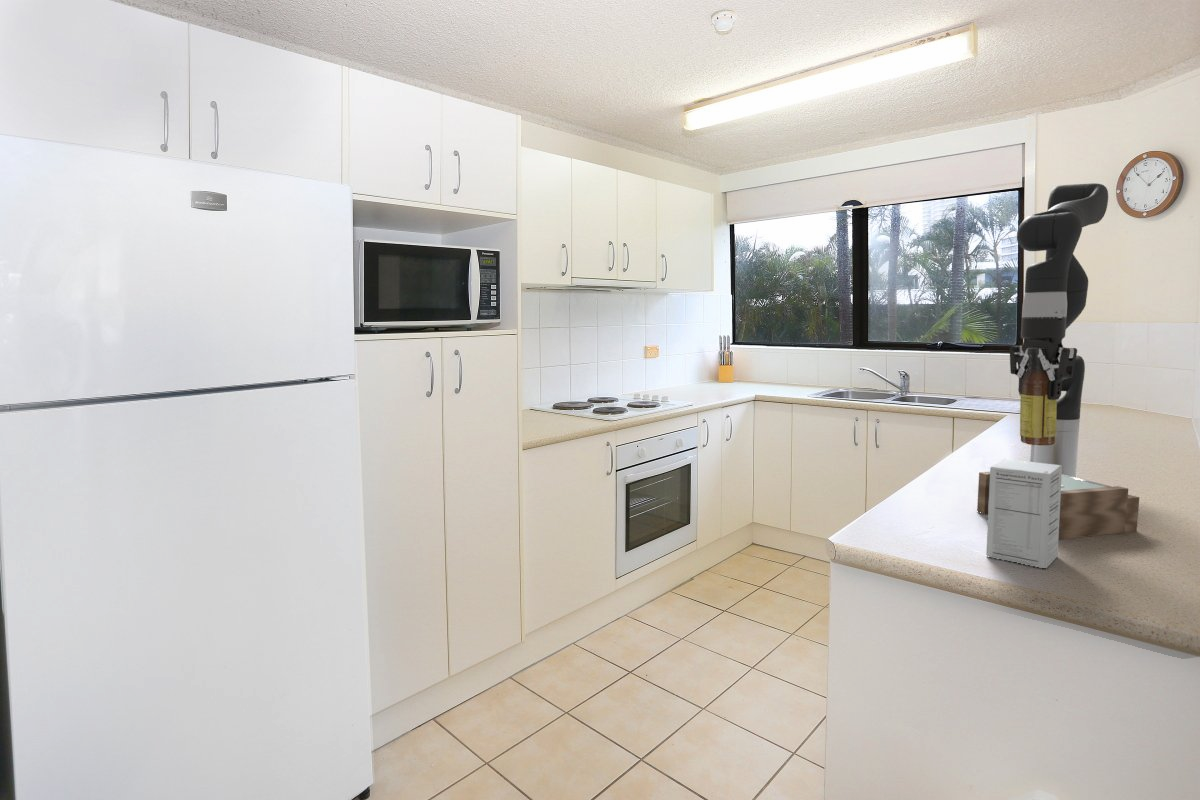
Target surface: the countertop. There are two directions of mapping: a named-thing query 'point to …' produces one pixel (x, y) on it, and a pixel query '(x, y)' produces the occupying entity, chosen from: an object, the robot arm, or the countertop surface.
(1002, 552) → the supplement box
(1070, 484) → the trapdoor
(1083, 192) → the robot arm
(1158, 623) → the countertop surface
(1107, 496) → the frame
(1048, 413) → the sauce bottle
